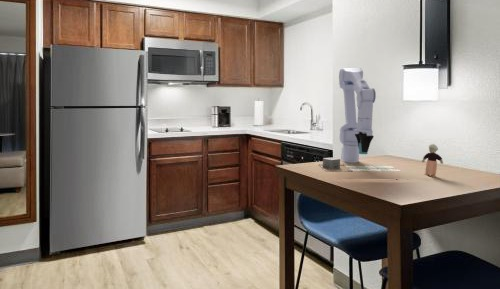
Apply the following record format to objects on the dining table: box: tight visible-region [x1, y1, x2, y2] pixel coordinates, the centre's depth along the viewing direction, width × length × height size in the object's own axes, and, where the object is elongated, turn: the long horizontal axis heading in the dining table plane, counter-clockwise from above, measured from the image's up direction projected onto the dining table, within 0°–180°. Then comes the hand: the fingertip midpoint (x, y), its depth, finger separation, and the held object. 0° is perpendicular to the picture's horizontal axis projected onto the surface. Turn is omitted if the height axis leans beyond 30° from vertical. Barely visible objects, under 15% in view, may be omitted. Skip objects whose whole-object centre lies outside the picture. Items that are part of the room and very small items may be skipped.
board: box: [318, 164, 401, 172], centre depth 161 cm, size 14×31×1 cm, turn 91°
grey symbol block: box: [322, 157, 341, 170], centre depth 162 cm, size 5×5×5 cm
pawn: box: [359, 141, 369, 155], centre depth 160 cm, size 3×3×7 cm
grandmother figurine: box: [421, 143, 444, 178], centre depth 151 cm, size 8×4×13 cm, turn 62°
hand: (363, 151), depth 161 cm, fingers closed on pawn, 3 cm apart
